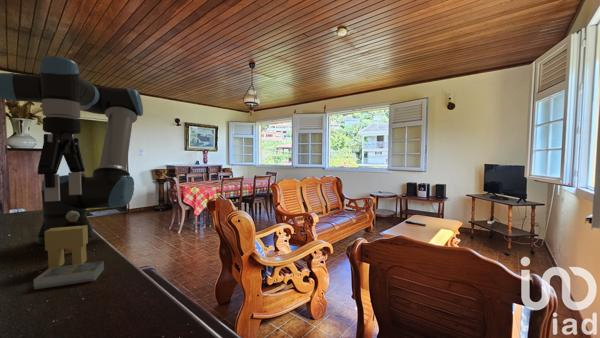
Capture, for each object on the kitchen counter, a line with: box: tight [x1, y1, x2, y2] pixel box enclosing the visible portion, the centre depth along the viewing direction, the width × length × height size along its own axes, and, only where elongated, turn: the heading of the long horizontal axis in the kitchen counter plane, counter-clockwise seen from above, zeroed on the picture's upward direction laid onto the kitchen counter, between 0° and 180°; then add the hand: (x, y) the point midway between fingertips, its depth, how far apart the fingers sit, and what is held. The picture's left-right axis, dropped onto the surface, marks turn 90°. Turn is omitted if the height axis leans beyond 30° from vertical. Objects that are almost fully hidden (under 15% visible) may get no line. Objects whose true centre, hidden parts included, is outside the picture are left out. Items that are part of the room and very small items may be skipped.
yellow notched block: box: [44, 225, 89, 268], centre depth 72 cm, size 4×8×10 cm, turn 112°
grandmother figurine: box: [63, 211, 85, 255], centre depth 83 cm, size 8×4×13 cm, turn 168°
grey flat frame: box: [33, 260, 105, 290], centre depth 64 cm, size 7×11×2 cm, turn 112°
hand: (65, 197), depth 71 cm, fingers open, 13 cm apart
